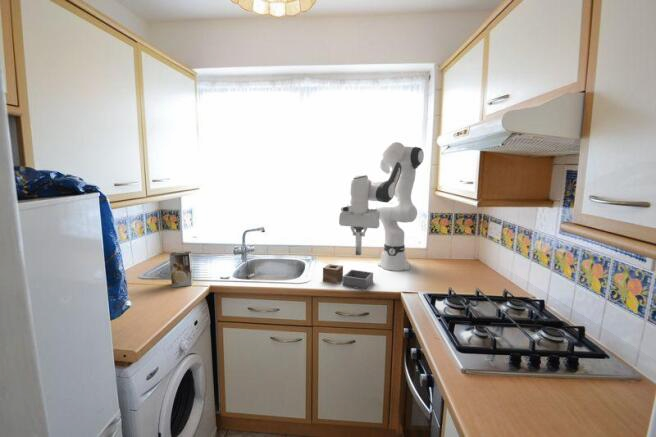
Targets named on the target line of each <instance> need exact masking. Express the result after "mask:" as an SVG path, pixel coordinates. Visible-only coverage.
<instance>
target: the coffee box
mask: <svg viewBox="0 0 656 437" xmlns="http://www.w3.org/2000/svg"><path fill="white" fill-rule="evenodd" d="M192 262H193V261H192V252H191V251H175V252H171V253H170V254H169V265H170V266H169V267H170V268H169V269H170V279H171V280H170V281H171V287H172V288H179V287H188V286H189V287H190V286H192V285H193V282H194V279H193V278H194V277H193V266H192V264H193V263H192Z"/></svg>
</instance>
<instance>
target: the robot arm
mask: <svg viewBox="0 0 656 437" xmlns="http://www.w3.org/2000/svg"><path fill="white" fill-rule="evenodd" d="M424 156H425V154H424V150H423V148H422V147H418V146H405V145H404V144H403V143H401V142H398V141H397V142H392V143H391V144H390V145H389V146H387V148H386V149H385V150H384V151H383V153H382V154H381V155H380V157H379V160H378V165H379V168H380V169H381V171H382V172H384V173H385V174H387V175H388V176H387V179H386V180H384V181H371V180H370V179H369V177H368V174H367V175H366V174H358V175H354V176H353V177H352V179H351V182H350V197H351V198H350V204H348V205H345V206H342V207H340V211H341V212H340V213H339V217H338V218H339V219H338V224H339V226H342V227H350V231H351V232H352V236H353V237H356V230H355V229H354V227H363V230H362V233H361V236H362V237H365V236H366V232H367V230H368V229H378V228H379V227H380V221H381V223H382V226H383V228H384V237H385V238H384V244H383V250H384V251H382V252H381V253H380V262H379V263H378V264H377V265H378V267H381V268H382V269H384V270H387V271H396V272H397V271H409V270H410V262H409V261H408V260H407V253H406V251H405V250H406V246H405V231H404V229H403V228H401V227H400V226H399V224H398V223H405V224H406V223H413V222H414V221H416V219H417V217H418V210H417V207H416V206H415V205H414V204H413V202H412V192H413V189H414V188H413V187H414V184H415V180H416V174H417V173H416V172H417V171H416V169H418V167H420V166H421V164H422V163H423V161H424ZM394 197H395V198H397V201H396V202H390V201H392V199H393V198H394ZM369 201H371V202H379V203H378V204H377V205H376V208H369Z"/></svg>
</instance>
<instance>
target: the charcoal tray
mask: <svg viewBox="0 0 656 437" xmlns="http://www.w3.org/2000/svg"><path fill="white" fill-rule="evenodd" d="M373 282H374V272H373V271H371V272H370V271H363V270H358V269H357V270H356V269H350V270H349V271H347V272H346V273H345V274H343V279H342V286H343V287H348V288H349V287H350V288H354V289H360V290H367V289H369V287H370V286H371V285H372V283H373Z"/></svg>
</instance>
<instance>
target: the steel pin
mask: <svg viewBox="0 0 656 437" xmlns="http://www.w3.org/2000/svg"><path fill="white" fill-rule="evenodd" d="M354 230H355V232H356V236H355V251H354V254H355V256H361V255H362V243H363V242H362V238H363V236H361V233H362V232H363V231H364V230H363V227H354Z"/></svg>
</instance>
